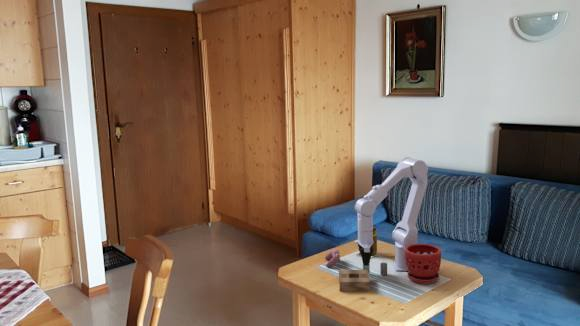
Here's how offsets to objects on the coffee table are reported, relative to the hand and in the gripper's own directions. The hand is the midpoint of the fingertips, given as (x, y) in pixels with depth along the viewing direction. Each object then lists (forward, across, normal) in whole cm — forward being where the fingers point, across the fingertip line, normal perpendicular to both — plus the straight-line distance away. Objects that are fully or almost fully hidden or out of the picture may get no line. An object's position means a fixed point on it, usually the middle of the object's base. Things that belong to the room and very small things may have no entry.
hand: (365, 263), depth 187 cm
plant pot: (+5, +4, +21) cm, 22 cm away
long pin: (+3, 0, 0) cm, 4 cm away
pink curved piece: (+5, -12, -13) cm, 18 cm away
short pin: (+5, 0, +7) cm, 8 cm away
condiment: (+5, -22, +3) cm, 23 cm away
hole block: (+4, +9, -5) cm, 11 cm away
